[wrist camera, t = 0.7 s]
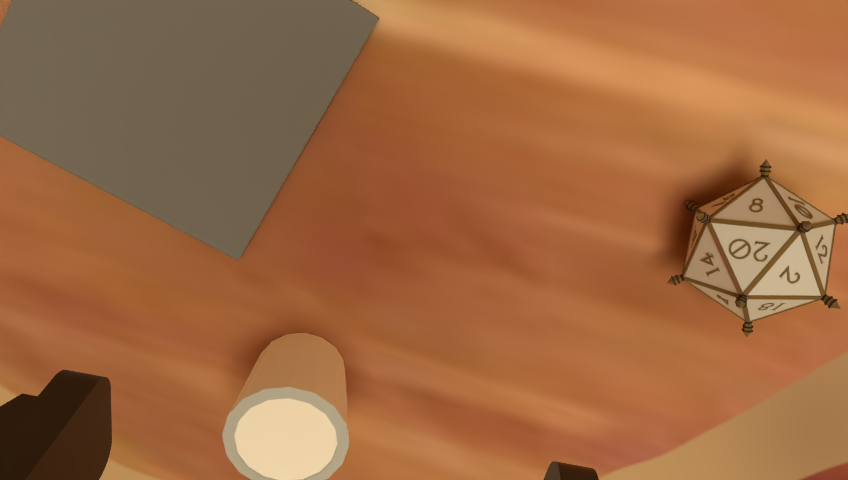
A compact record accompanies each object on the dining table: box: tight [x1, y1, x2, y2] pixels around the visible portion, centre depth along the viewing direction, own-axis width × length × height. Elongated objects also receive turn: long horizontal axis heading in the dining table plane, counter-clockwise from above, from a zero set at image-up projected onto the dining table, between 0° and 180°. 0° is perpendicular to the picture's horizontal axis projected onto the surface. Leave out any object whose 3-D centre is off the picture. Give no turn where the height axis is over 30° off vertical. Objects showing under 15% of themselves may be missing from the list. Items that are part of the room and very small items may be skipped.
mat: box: [0, 0, 379, 260], centre depth 36 cm, size 16×16×1 cm
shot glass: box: [222, 333, 349, 480], centre depth 40 cm, size 7×7×7 cm
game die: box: [667, 159, 848, 337], centre depth 37 cm, size 9×8×10 cm
